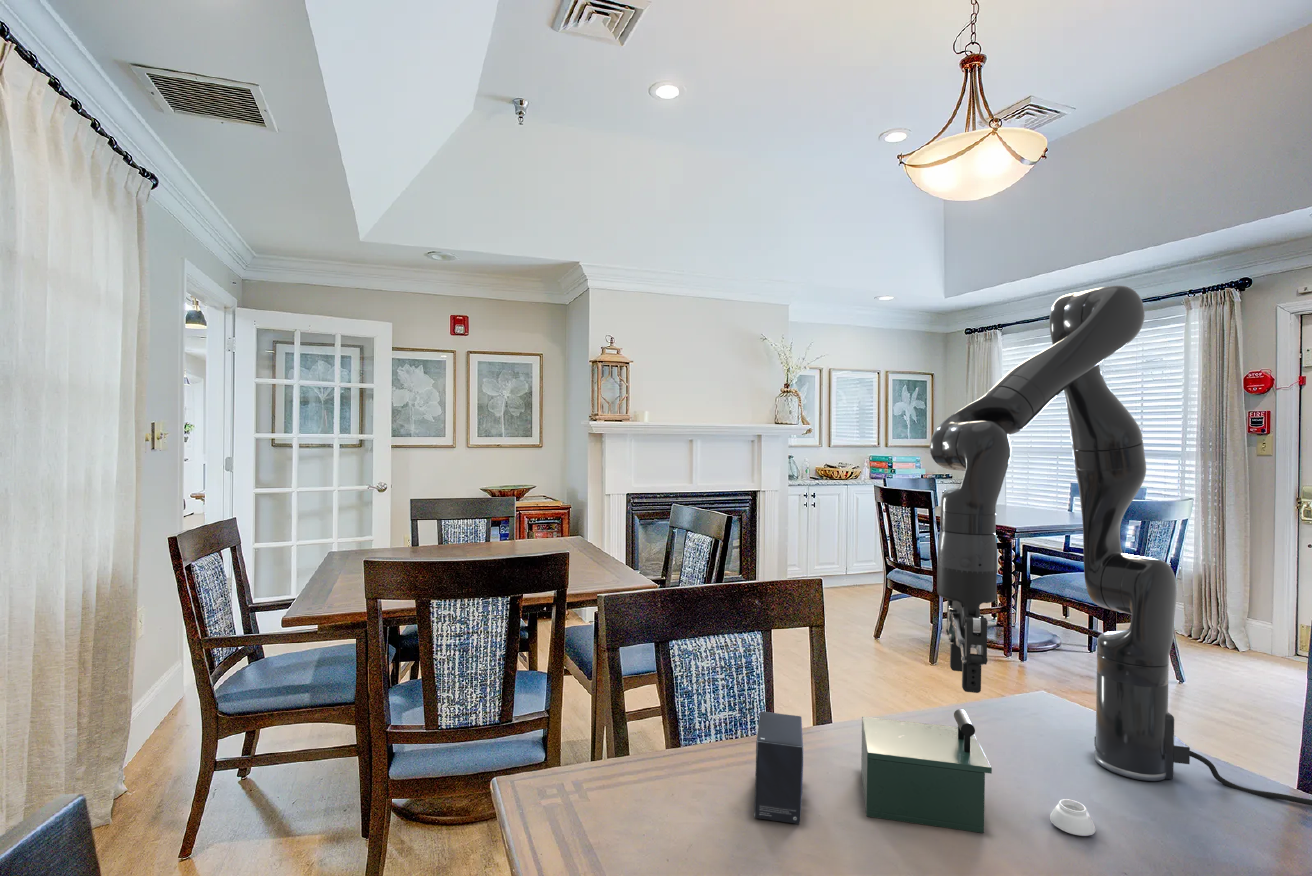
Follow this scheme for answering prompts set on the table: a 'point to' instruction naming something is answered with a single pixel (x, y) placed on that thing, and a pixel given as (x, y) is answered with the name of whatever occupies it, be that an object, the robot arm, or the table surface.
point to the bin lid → (926, 743)
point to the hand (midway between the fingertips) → (964, 680)
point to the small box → (779, 768)
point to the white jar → (1072, 818)
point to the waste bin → (923, 793)
